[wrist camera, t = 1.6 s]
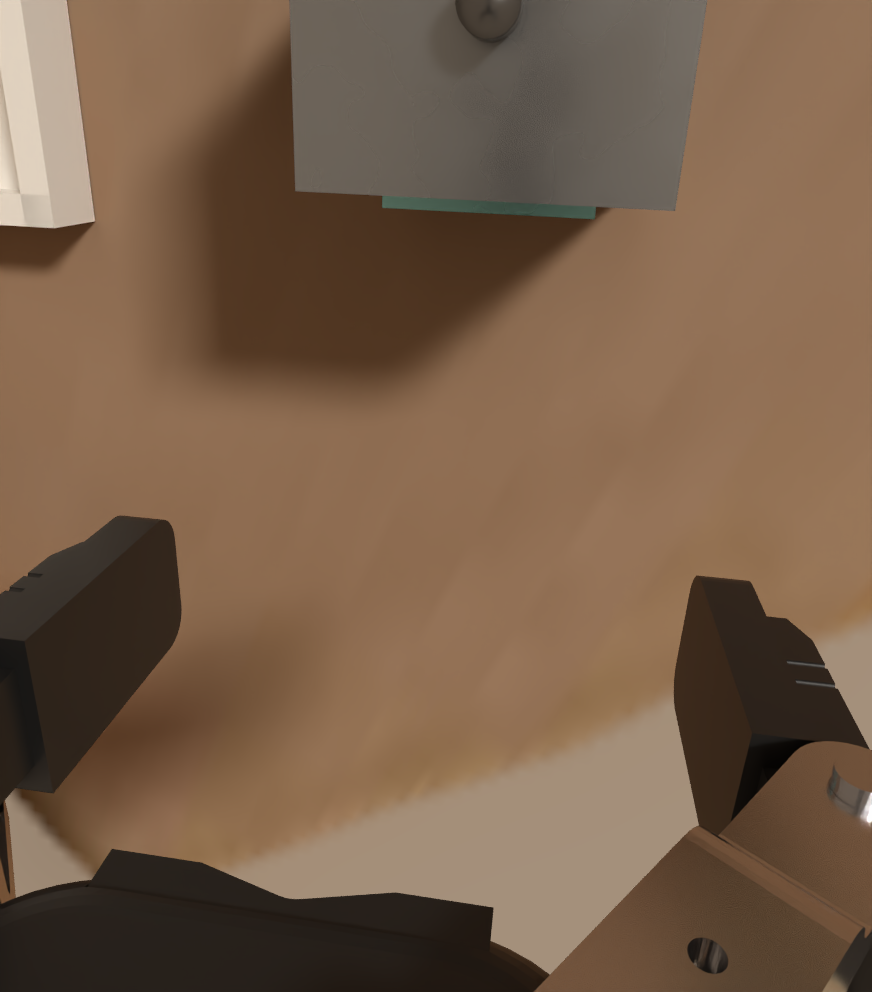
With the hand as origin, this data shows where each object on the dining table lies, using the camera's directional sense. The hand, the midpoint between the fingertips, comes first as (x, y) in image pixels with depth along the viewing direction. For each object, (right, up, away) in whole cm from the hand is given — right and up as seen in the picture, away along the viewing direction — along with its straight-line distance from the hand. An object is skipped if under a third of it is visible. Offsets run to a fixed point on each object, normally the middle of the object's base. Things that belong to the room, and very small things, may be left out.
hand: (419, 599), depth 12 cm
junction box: (+3, +15, +12) cm, 19 cm away
